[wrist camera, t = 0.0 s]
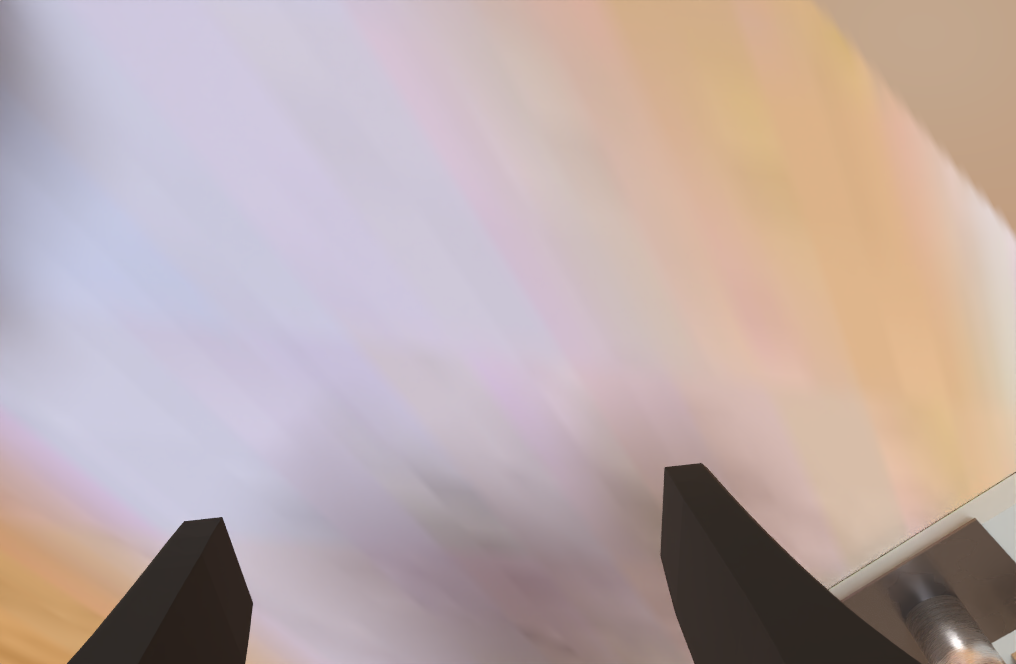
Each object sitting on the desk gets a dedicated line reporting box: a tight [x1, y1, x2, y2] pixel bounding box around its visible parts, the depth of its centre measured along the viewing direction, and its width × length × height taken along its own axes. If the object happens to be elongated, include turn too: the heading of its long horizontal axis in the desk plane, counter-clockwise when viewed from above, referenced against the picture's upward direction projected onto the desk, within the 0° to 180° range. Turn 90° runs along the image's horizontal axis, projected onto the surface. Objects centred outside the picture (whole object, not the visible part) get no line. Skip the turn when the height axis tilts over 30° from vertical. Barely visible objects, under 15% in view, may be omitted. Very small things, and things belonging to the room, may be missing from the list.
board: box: [829, 473, 1016, 664], centre depth 31 cm, size 14×12×1 cm
